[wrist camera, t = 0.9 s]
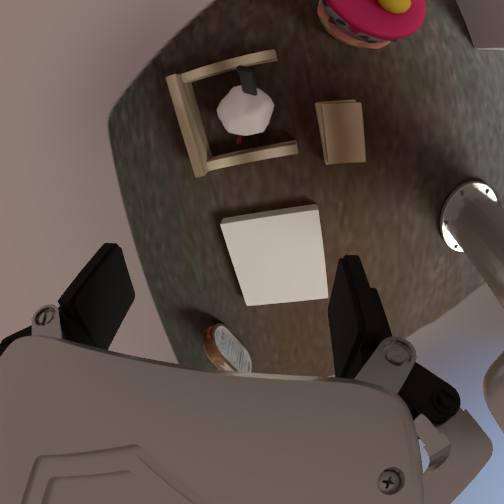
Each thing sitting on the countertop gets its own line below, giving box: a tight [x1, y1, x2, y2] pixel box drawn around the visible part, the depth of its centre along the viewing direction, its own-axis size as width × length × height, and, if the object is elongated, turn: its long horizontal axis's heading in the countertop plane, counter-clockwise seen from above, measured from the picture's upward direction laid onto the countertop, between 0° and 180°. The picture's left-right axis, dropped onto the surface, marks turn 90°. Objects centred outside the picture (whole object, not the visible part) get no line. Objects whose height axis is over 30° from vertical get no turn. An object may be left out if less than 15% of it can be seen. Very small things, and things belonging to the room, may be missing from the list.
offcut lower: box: [315, 99, 356, 165], centre depth 32 cm, size 5×8×2 cm, turn 13°
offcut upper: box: [320, 102, 366, 164], centre depth 30 cm, size 5×7×2 cm, turn 10°
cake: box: [317, 0, 426, 49], centre depth 17 cm, size 10×11×15 cm
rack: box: [166, 49, 299, 177], centre depth 31 cm, size 13×13×5 cm
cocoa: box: [217, 65, 274, 144], centre depth 28 cm, size 10×6×12 cm, turn 143°
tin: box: [202, 323, 253, 373], centre depth 54 cm, size 15×3×8 cm, turn 30°
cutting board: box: [220, 204, 328, 306], centre depth 44 cm, size 14×16×2 cm
